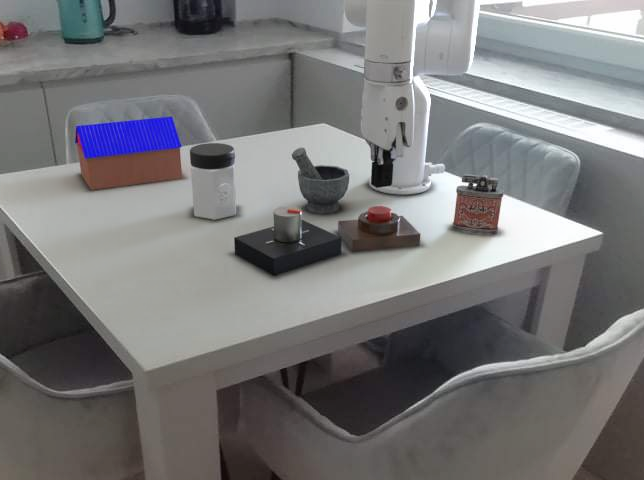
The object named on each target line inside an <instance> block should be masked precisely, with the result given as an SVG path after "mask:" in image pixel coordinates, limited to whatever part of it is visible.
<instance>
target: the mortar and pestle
mask: <svg viewBox="0 0 644 480" xmlns="http://www.w3.org/2000/svg"><path fill="white" fill-rule="evenodd" d="M291 158H292V160H294V161H295V163H296V164H297V167H298V168H299V169H298V171H297V181H298V186H299V191H300V193H301V196H302V197H303V198H304V199H305V200H306V201H307V202H306V208H307V209H306V210H307V211H309V212H311V213H314V214H322V215H323V214H325V215H326V214H331V213H335V212H337V211H338V210H340V207H339V201H340V200H341V199H342V198H344V197H345V195H346V193H347V191H348V188H349V184H350V173H349V171H348V169H347V168H343V167H340V166H337V165H324V164H320V165H314V164H313V163H312V161H311V159H310V158H309V156H308V155H307V150H306V148H305V147H298V148H296V149H295V150H293V151H292V153H291Z"/></svg>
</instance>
